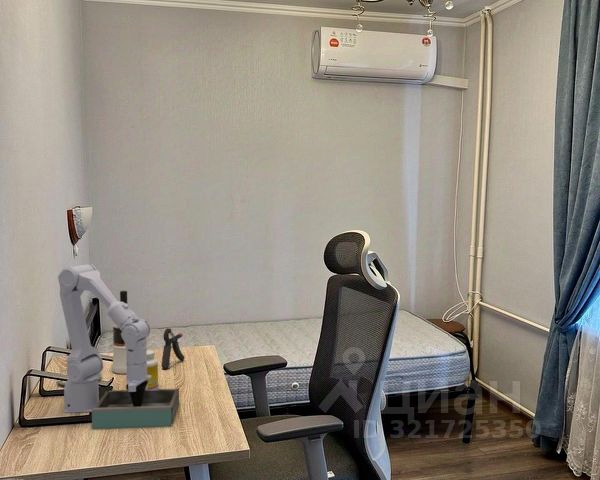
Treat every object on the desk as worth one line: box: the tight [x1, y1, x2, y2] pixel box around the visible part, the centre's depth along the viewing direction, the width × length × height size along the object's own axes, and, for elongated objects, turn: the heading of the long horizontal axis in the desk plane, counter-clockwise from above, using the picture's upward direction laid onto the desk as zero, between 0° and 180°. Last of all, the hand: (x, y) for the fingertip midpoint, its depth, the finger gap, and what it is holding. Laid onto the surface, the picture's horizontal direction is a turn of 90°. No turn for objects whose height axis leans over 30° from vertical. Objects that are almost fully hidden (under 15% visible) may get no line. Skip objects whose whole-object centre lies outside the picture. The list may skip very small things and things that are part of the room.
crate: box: [95, 388, 180, 425], centre depth 159 cm, size 22×15×5 cm
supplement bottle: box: [145, 349, 159, 390], centre depth 179 cm, size 7×7×13 cm
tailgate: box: [91, 406, 172, 430], centre depth 150 cm, size 22×1×6 cm, turn 95°
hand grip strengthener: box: [161, 327, 185, 371], centre depth 204 cm, size 2×12×15 cm, turn 158°
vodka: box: [111, 290, 136, 375], centre depth 197 cm, size 9×9×30 cm
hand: (137, 406), depth 158 cm, fingers closed
